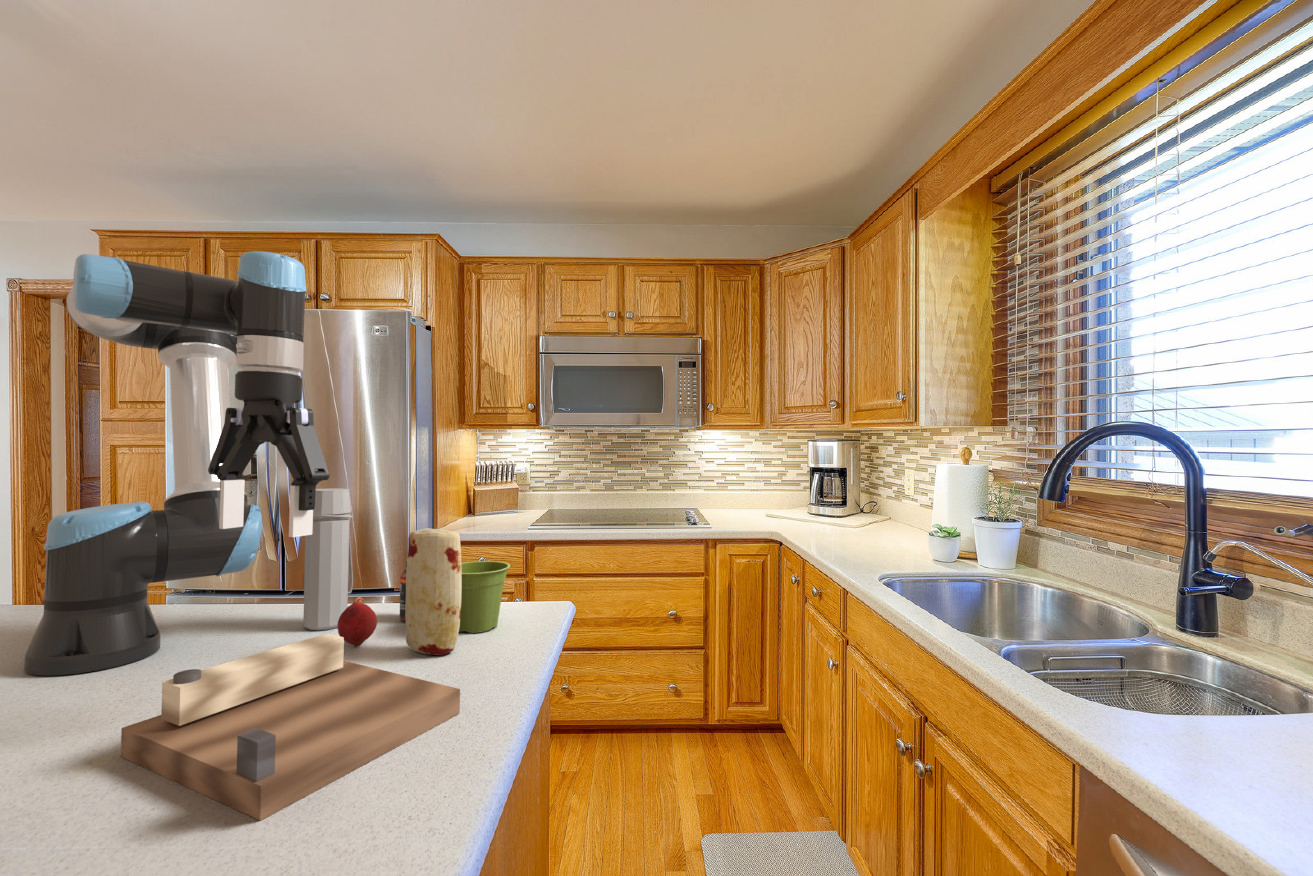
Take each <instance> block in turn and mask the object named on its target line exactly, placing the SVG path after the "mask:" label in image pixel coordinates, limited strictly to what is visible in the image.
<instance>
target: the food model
mask: <svg viewBox="0 0 1313 876" xmlns="http://www.w3.org/2000/svg"><path fill="white" fill-rule="evenodd" d="M407 539H408V547H407V557H406V558H407V559H406V561H407V568H406V567H405V569H406V604H405V620H406V622H405V642H406V645H407V647H409V648H410V649H411V650H413V651H415V652H418V653H422V654H428V655H435V656H442V655H447V654H448V653H450V652H453V651H454V650H455V648H456V644H457V642H458V637H459V632H460V631H459V627H460V615H461V593H462V571H461V563H462V548H461V547H462V546H461V536H460V534H459V533H458V532H454V531H451V530H448V529H443V528H428V527H427V528H422V529H418V530H415V531H412V532H410V533H409V534H408V538H407Z"/></svg>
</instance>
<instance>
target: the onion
mask: <svg viewBox="0 0 1313 876" xmlns="http://www.w3.org/2000/svg"><path fill="white" fill-rule="evenodd" d="M363 602H364V599H363V597H361V596H359V597H357V598H355V599H354V600H353V602H352V604H350V605H349V606H347V608H346V609H345V611H344V612H343V613H342V614H341V616H340V617H339V620H338V625H337V633H338V636H340V637H344V642H345V643H347V644H349V645H351V646H353V647H354V648H355V647H356V648H357V647H360V646H362V645H363V644H364V642H366V640H368V639H369V638H370V637H371V636H372V635H373V634H374V632H375V631H376V628H377V625H378V617H377V615H376V613H375V611H374V610H373V609H372V608H371V607H370V606H369V605H368V604H365V603H363Z"/></svg>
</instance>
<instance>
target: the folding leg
mask: <svg viewBox="0 0 1313 876" xmlns="http://www.w3.org/2000/svg"><path fill="white" fill-rule="evenodd" d="M344 642H345V641H344V637H340V635H335V634H330V633H324V634H321V635H317V636H315V637H310V638H306V639H304V640H300V641H297V642H292V643H290V644H286V645H283V646H279V647H276V648H273V649H268V650H266V651H263V652H260V653H255V654H251V655H248V656H245V657H241V658H238V659H235V660H232V661H228V662H224V663H222V664H218V665H214V666H211V667H208V668H204V669H195V668H194V669H185V670H182V671H181V670H180V671H179V672H176V673H175V674H173V675H172V676H173V677H172V678H170V679H167V680H163V681H161V683H162V684H161V686H162V687H161V709H160V710H161V712H160V713H161V714H160V715H161V719H162V720H165V721H168V722H170V723H173V724H175V725H178V726H181V725H183V724H186V723H189V722H192V721H195V720H197V719H200V718H203V717H206V716H209V715H211V714H214V713H217V712H220V711H223V710H225V709H228V708H231V707H234V706H237V705H239V704H242V703H245V702H248V701H251V700H253V699H256V698H259V697H262V696H265V695H267V694H270V693H273V692H276V691H278V690H281V689H284V688H287V687H290V686H292V685H295V684H298V683H301V682H304V681H306V680H309V679H312V678H315V677H318V676H320V675H323V674H326V673H329V672H332V671H334V670H337V669H340V668H343V661H344V653H345V652H344V646H345V643H344Z"/></svg>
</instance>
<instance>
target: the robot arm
mask: <svg viewBox="0 0 1313 876" xmlns="http://www.w3.org/2000/svg"><path fill="white" fill-rule="evenodd" d="M237 270H238V271H236V275H237V278H238V279H237V280H236V279H231V278H224V277H220V276H214V275H209V274H203V273H198V272H197V273H196V272H190V271H186V270H177V269H173V268H169V267H164V266H163V267H162V266H158V265H153V264H147V263H142V262H139V261H138V262H137V261H133V260H132V261H131V260H127V259H122V258H120V257H116V256H109V255H108V256H103V255H98V254H97V255H95V254H91V253H83V254H80V255H78V256H77V257H76V258H75V264H74V269H73V278H72V279H73V283H72V287H71V288H70V290H69V291H68V293H67V295H66V297H65V308H66V311H67V314H68V315H69V317H70V320H72V322H73V323H74V324H75V325H77V326H78V327H79V328H81V329H82V330H84V331H85V332H87V333H89V334H91V335H93V336H96V337H97V338H100V339H103V340H106V341H108V342H112V343H116V344H118V345H124V346H128V347H135V348H144V349H151V350H152V349H153V350H157V356H158V357H157V358H158V360H159V362H160V363H162V364H163V365H164V366H166V367H168V368H169V378H170V379H169V380H170V382H169V383H170V384H169V385H170V403H171V404H170V405H171V408H170V409H171V428H172V446H173V447H172V450H173V472H174V473H173V475H174V491H173V492H172V493H171V494H170V495H169V496H167V498H165V499H164V500H163V509H159V510H158V509H157V510H156V509H155V510H153V509H152V505H151V504H150V503H149V502H148V501H134V502H126V503H125V502H123V503H114V504H107V505H99V506H92V507H86V508H80V509H75V510H71V511H67V512H63V513H60V514H57V515H56V516H54V517H53V518H51V520H50V521H49V522H48V524H47V531H46V542H45V544H44V546H43V550H44V551H45V552H46V555H45V573H44V574H45V575H44V591H43V592H44V595H43V614H42V617H41V619H40V622H39V624H38V625H37V628H36V630H35V633H34V635H33V636H32V638H31V640H30V643H29V645H28V647H27V650H26V652H25V654H24V667H23V668H24V669H23V670H24V672H25V673H27V674H30V675H33V676H34V675H35V676H47V677H48V676H65V675H66V676H67V675H74V674H75V675H77V674H82V673H90V672H91V673H92V672H94V671H95V672H96V671H101V670H106V669H111V668H115V667H116V668H117V667H119V666H123V665H127V664H130V663H134V662H137V661H139V660H142V659H145V658H147V657H150V656H152V655H154V654H155V653H157V652H158V651H159V650H160V648H161V632H160V629H159V627H158V624H157V622H156V619H155V616H154V614H153V612H152V610H151V606H150V604H149V602H148V591H149V590H148V588H149V584H152V583H153V584H154V583H162V582H163V583H164V582H171V581H177V580H178V581H179V580H187V579H188V580H189V579H194V578H195V579H196V578H204V577H213V576H216V577H221V576H222V575H227V574H234V573H239V572H243V571H245V570H247V569H249V567H250V566H251V565H252V564H253V563H254V561H255V559H256V555H257V553H258V551H259V546H260V541H261V536H262V528H263V525H262V524H263V517H262V512H261V508H260V506H258V505H255V504H254V503H253V504H252V503H251V504H249V503H248V495H247V492H245V488H246V487H245V482H246V481H245V478H246V476H245V475H244V471H245V470H246V468H247V466H248V465H249V463H250V461H251V460H252V458H253V457H254V455H255V453H256V451H257V450H258V448H259V447H260V446H261V445H263V444H265V443H270V444H271V445H273V446H275V447H276V449H277V451H278V452H279V454H280V456H281V458H282V460H283V462H284V465H285V466H286V467H287V469H288V471H289V473H290V475H291V477H292V478H293V480H292V482H291V483H290V486H289V488H290V489H289V515H288V516H289V517H288V521H289V522H288V538H297V537H303V536H304V537H306V535H312V530H313V510H314V508H315V495H316V489H317V485H318V484H319V483H320V482H322V481H327V480H329V478H330V472H329V469H328V465H327V462H326V459H325V457H324V453H323V450H322V447H321V444H320V441H319V437H318V434H317V431H316V428H315V425H314V424H315V421H314V411H313V409H312V408H304V407H303V408H302V407H295V404H299V403H300V402H301V401H302V400H303V377H302V376H301V375H298V374H299V373H301V372H303V371H304V351H305V350H304V349H305V348H304V347H305V346H304V345H305V344H304V337H305V336H304V335H305V333H304V331H305V313H306V312H305V308H306V307H305V305H306V291H308V290H307V283H306V270H305V267H304V264H303V263H302V262H300V261H299V260H298V259H295V258H293V257H291V256H288V255H284V254H280V253H276V252H275V253H274V252H271V251H256V250H254V251H253V250H252V251H247V252H244V253H242V254H241V256H240V257H239V262H238V269H237ZM234 365H235V366H237V367H238V368H240V369H241V370H239V371H237V372H236V373H235V378H234V398H236V400H239V401H243V403H244V404H243V407H242V408H238V407H231V397H230V395H231V394H230V385H229V383H230V382H229V381H230V380H229V369H231V368H232V367H233V366H234Z"/></svg>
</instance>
